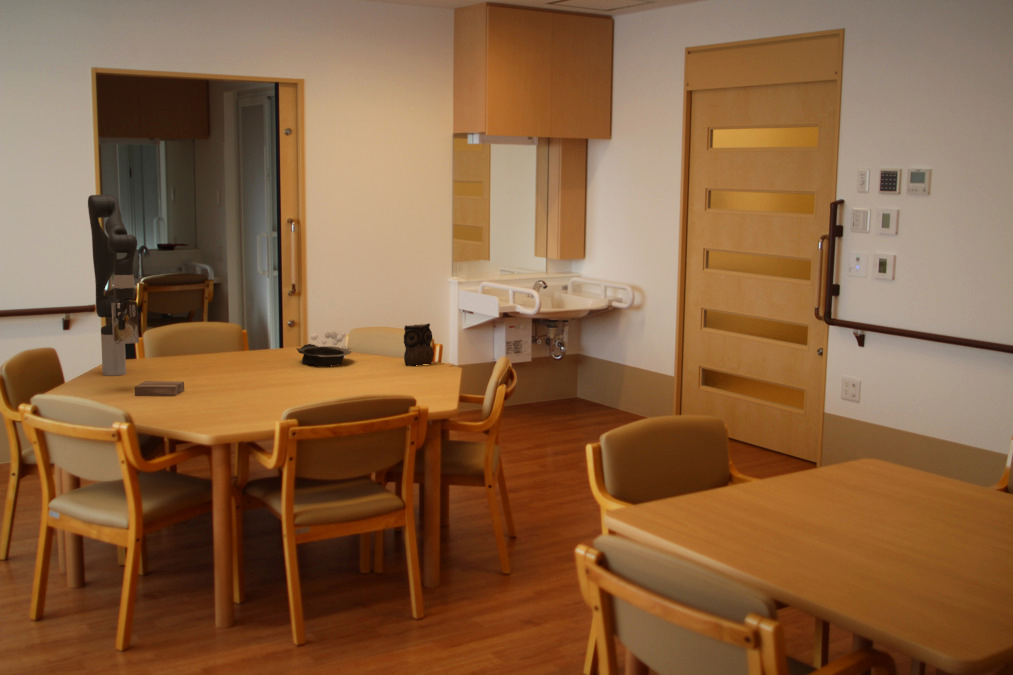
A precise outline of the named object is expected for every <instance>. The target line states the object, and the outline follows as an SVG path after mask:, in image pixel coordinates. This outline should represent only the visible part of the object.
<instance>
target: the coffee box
mask: <svg viewBox="0 0 1013 675" xmlns="http://www.w3.org/2000/svg"><path fill="white" fill-rule="evenodd" d="M116 303H119V302H111V308H112V317H111V323H112V329H113V343H114V344H125V345H126V344H127V345H129V344H140V338H139V336H140V334H139V333H140V332H139V314H138V302H137V301H136V300H130V301H129V302H125V309H127V315H126V316H125V329H124V330H119V325H118V319H116V310H115V304H116ZM125 309H123V312H125ZM118 313H119V312H118ZM120 316H121V314H120Z"/></svg>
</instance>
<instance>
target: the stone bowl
mask: <svg viewBox="0 0 1013 675" xmlns="http://www.w3.org/2000/svg"><path fill="white" fill-rule="evenodd" d="M296 350H297V352H298V353H299V354H301V355H303V356H302V360H301V363H302V365H304V366H305V365H306V366H308V365H309V364H311V365H313V366H314V367H319V366H326V367H332V366H331V365H336V366H338V365H337V364H340V365H341V364H342V363H343V360H344V358H345V357H344V356H348V355H351V354H352V351H351V350H349V348H347V349H343V348H341V347H339V346H333V347H332V345H329V346H328V345H325V346H324V345H323V346H322V345H321V346H318V345H317V344H313V343H307V345H306V344H304V345H302V346H301V347H300V348H298V347H296ZM309 366H310V365H309Z"/></svg>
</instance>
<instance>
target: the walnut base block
mask: <svg viewBox="0 0 1013 675" xmlns="http://www.w3.org/2000/svg"><path fill="white" fill-rule="evenodd" d="M184 391H185V381H166V380H165V381H161V380H160V381H159V380H157V381H154V380H153V381H152V380H151V381H148V380H147V381H146V380H145V381H144V382H141V383H139V384H137V385H134V397H175V396H178V395H179V394H181V393H183V392H184Z"/></svg>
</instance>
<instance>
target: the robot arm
mask: <svg viewBox="0 0 1013 675" xmlns="http://www.w3.org/2000/svg"><path fill="white" fill-rule="evenodd" d="M87 210H88V217H89V224H90V230H91V244H92V245H91V247H92V260H93V270H94V271H93V272H94V279H95V310H96V314H97V316H98V317H99V318H112V308H111V302H119V303H116V304H115V310H116V319H118V325H119V330H124V329H125V316H126V315H127V309H125V302H129V301H131V300H132V299H133V300H134V299H135V298H136V294H135V291H136V290H135V288H136V287H135V277H134V260H135V256H136V251H137V248H138V240H137V237H136V236H135V235H134V234H128V231H127V228H126V227H125V225H124V222H123V220H122V214H121V209H120V205H119V201H118V199H117V197H116V196H115V195H113V194H109V193H108V194H91V195H89V196H88V199H87ZM101 218H107V220H105V223H104V229H105V231H104V229H103V228H102V226H101V224H100V219H101ZM118 254H126V255H125V256H124V257H123V258H118ZM112 276H113V283H112V284H113V295H105V290H106V287H107V284H108V282H109V281H110V279H111V277H112ZM123 309H125V312H123ZM118 312H119V313H118ZM120 314H121V316H120ZM100 338H101V343H100V344H101V363H102V364H101V366H102V369H101V370H102V371H101V372H102V375H103V376H123V375H125V374H127V362H126V360H127V358H126V357H127V356H126V344H114V343H113V329H112V322H111V323H109V324H107V325H104V326H102V327H101V328H100Z"/></svg>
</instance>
